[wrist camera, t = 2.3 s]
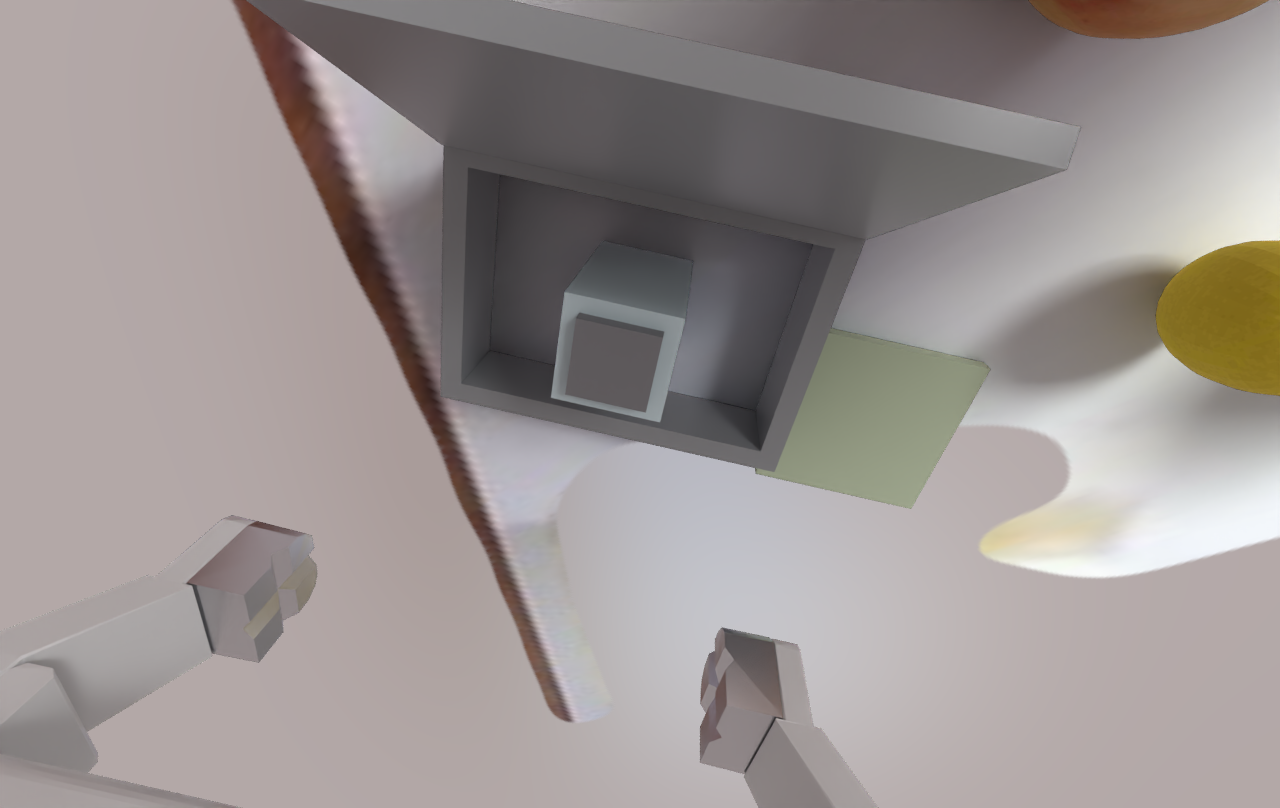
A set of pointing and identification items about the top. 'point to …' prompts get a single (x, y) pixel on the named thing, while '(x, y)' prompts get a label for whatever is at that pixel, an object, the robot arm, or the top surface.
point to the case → (662, 171)
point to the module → (622, 330)
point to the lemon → (1227, 316)
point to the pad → (877, 418)
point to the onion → (1139, 15)
